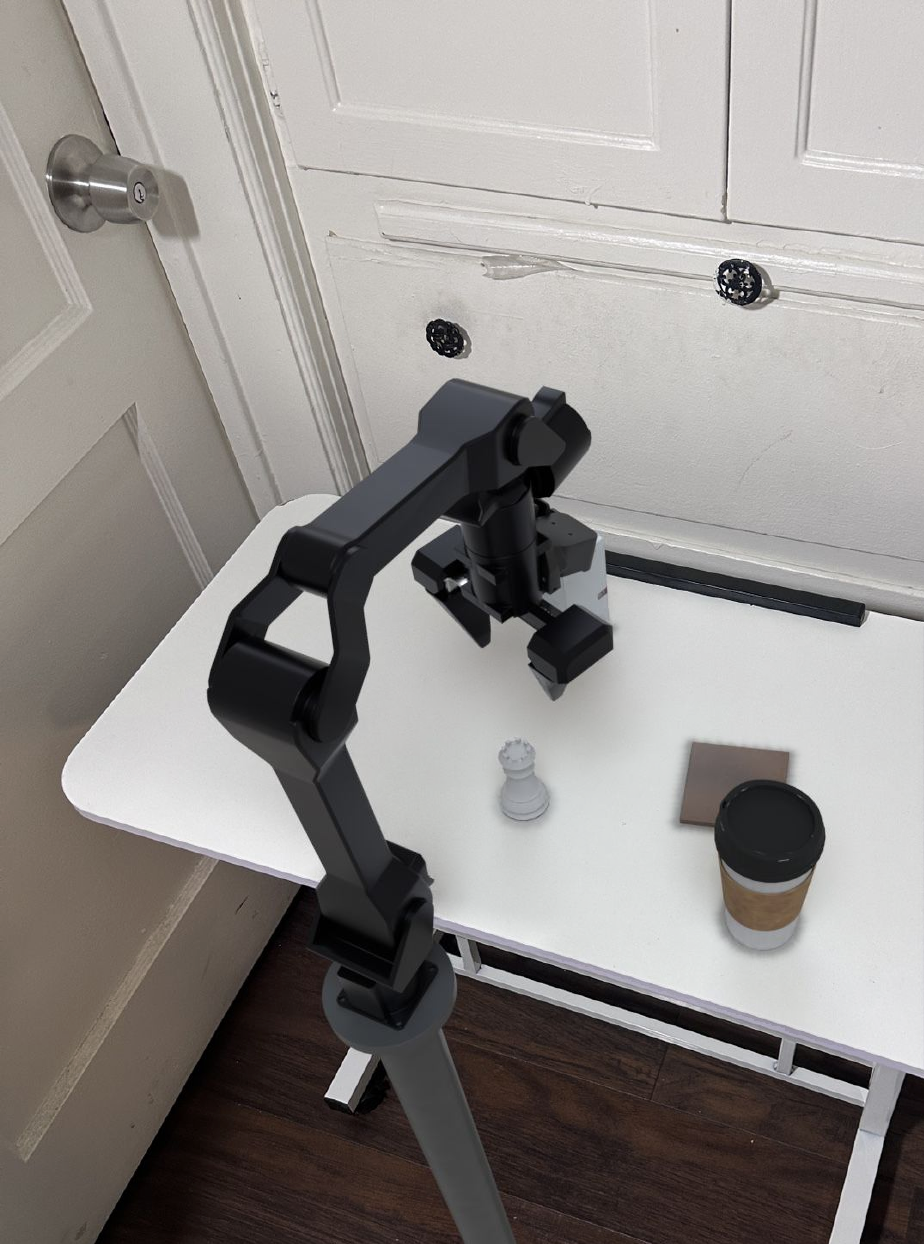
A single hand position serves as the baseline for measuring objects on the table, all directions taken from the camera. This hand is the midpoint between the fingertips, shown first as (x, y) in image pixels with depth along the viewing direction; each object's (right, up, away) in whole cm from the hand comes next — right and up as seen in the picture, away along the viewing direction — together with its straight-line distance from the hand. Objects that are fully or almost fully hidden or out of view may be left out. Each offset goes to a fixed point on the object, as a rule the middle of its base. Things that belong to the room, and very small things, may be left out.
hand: (520, 670), depth 106 cm
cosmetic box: (+4, +5, +19) cm, 20 cm away
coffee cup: (+21, -21, -3) cm, 30 cm away
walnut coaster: (+19, -10, +5) cm, 23 cm away
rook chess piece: (0, -12, +6) cm, 13 cm away
